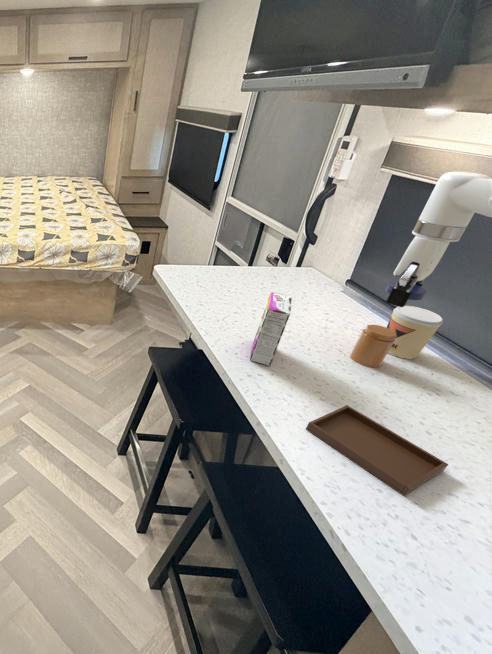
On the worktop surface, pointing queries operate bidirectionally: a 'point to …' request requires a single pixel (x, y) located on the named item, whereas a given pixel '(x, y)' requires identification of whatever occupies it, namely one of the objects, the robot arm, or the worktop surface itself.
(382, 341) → the jam jar
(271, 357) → the candy bar box
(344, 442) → the walnut tray
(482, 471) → the worktop surface
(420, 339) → the coffee cup
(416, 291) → the jar lid
